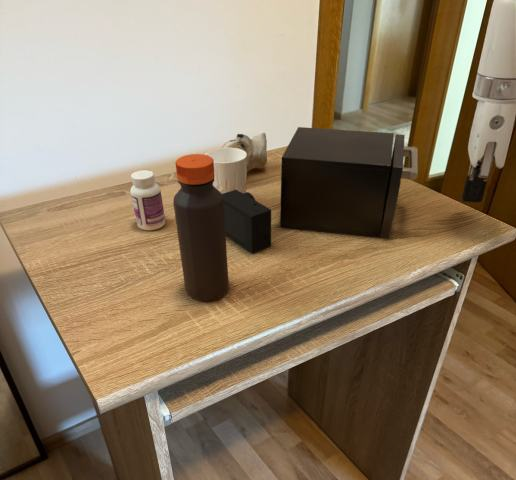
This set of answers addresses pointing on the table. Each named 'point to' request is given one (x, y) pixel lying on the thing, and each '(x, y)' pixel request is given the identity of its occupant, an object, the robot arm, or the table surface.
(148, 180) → the pill bottle
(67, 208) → the table surface
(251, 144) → the ceramic sculpture
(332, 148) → the oven
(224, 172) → the white cup
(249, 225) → the digital camera
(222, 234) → the vinegar
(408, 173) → the oven door
